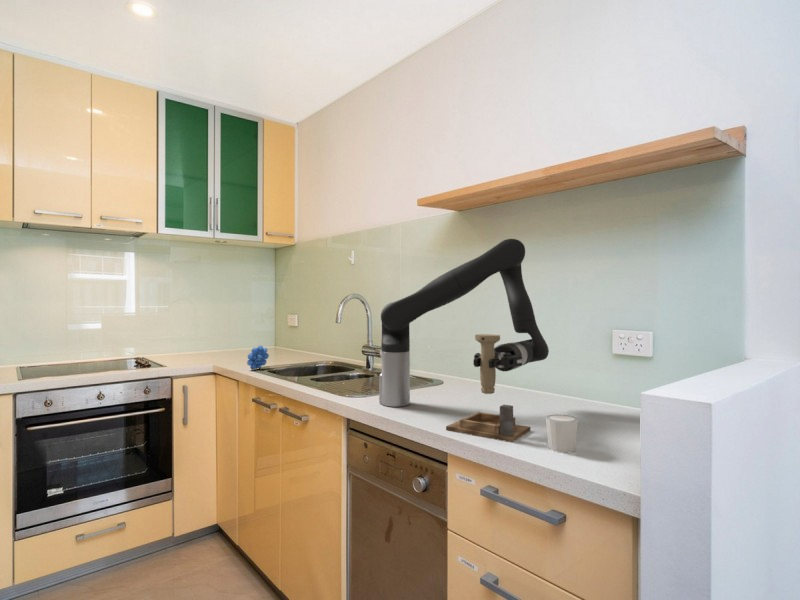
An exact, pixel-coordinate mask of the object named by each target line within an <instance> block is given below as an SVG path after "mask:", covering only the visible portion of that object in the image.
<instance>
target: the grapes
mask: <svg viewBox="0 0 800 600" xmlns="http://www.w3.org/2000/svg"><path fill="white" fill-rule="evenodd" d="M269 357H270V355H269V353H268V348H267V347H263V345H258V346H257V347H253V348H252V349H251V352H249V353H248V355H247V359H248V360H247V361H246V365H247V366H250V367H249V368H250V369H251V370H252V369H254V370H255V369H256V368H261V369H262V367H263V366H265V365H266V364H267V359H268V358H269Z"/></svg>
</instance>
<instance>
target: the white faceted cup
mask: <svg viewBox="0 0 800 600" xmlns="http://www.w3.org/2000/svg"><path fill="white" fill-rule="evenodd" d="M545 422H546V431H547V433H546V434H547V441H548V448H549V450H550V451H552V450H553V452H556V451H557V452H556V453H561V452H563V454H568V453H570V454H571V453H573V452H575V451H576V447H577V436H578V435H577V434H578V425H579V424H578V423H579V419H578V418H577V417H575V416H571V415H569V414H568V415H566V414H549V415H546V416H545Z"/></svg>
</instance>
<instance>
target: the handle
mask: <svg viewBox="0 0 800 600" xmlns="http://www.w3.org/2000/svg"><path fill="white" fill-rule="evenodd" d="M474 338H475V341H476V342H478V343H479V344H480V354H481V362H480V366H479V367H480V368H479V377H480V378H479V379H480V386H481V388H480V389H481V393H482V394H485V395H487V394H488V395H492V394H494V393H495V386H496V377H497V375H496V372H497V371H496V369H497V368H496V367H495V368H489V360H490V359H493V358H495V354H494V348H495V344H496V343H498V342H500V340H501V335H500V334H490V333H489V334H488V333H487V334H485V333H483V334H481V333H480V334H475V335H474Z"/></svg>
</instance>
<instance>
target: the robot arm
mask: <svg viewBox="0 0 800 600" xmlns="http://www.w3.org/2000/svg"><path fill="white" fill-rule="evenodd" d="M525 257H526V248H525V244H524V243H523V242H522V241H521V240H519V239H517V238H507V239H504V240H501V241H500V242H499V243H497V244H496V245H494V246H493V247H492V248H490V249H488V250H487V251H485V252H484V253H483V254H480V256H478V257H475V258H473V259H471V260H468V261H467V262H465V263H463V264H460V265H459V266H456V267H455V268H454V267H453V269H450V270H448V271H446V272H444V273H442V274H441V275H439V276H438V277H437V278H436V277H435V279H433V280H431V281H429V282H428V283H426V285H424V286H423V287H421V289H419V290H417V291H416V292H414V293H412V294H410V295H407V296H405V297H403V298H401V299H398V300H395V301H393V302H390V303H388V304H386V305H384V306H383V308H382V310H381V313H380V321H381V348H380V351H381V373H380V374H379V375H378V385H379V386H378V396H379V397H378V400H379V401H378V402H379V404H381V405H383V406H385V407H394V408H395V407H398V408H399V407H406V406H409V405H410V403H411V377H410V375H411V373H410V372H411V368H410V367H411V366H410V363H411V361H410V360H411V359H410V349H411V347H410V346H411V345H410V343H411V341H410V323H412V322H414V321H416V319H419V318H420V317H421V316H423V315H425V314H426V313H428V312H431V311H434V310H435V309H439V308H441V307H444V306H445V305H447V304H450V303H452V302H454V301H456V300H458V299H460V298H462V297H463V296H466V295H467V294H469V293H470V292H472V291H473V290H474V289H476V288H477V287H478V286H479V285H481V284H482V283H483V282H484V281H485V280H486V279H488V278H490V277H492V276H493V275H495V274H498V273H499V274H500V277H501V279H502V282H503V285H504V290H505V292H506V297H507V302H508V306H509V311H510V316H511V320H512V326H513V329H514V330H513V331H515V333H517V334H528V335H529V336H530V337H531V338H530V339H526V340H520V341H515V342H507V343H502V344H499V345H497V346H496V345H495V346H494V354H495V358H493V359H490V360H489V368H495V369H497V370H498V371H501V372H509V371H512V370H516V369H518V368H521V367H523V366H525V365H527V364H529V363H533V362H541V361H544V360H546V359H547V357H548V356H549V346H548V344H547V341H546V339H544V336H543V335H542V333H541V331H540V329H539V327H538V325H537V321H536V316H535V312H534V308H533V304H532V302H531V299H530V297H529V294H528V292H527V289H526V287H525V284H524V279H523V273H522V271H523V270H522V263H523V261H524V260H525ZM480 362H481V352H477V353H475V354H474V355H473V366H474V368H479V367H480Z"/></svg>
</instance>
